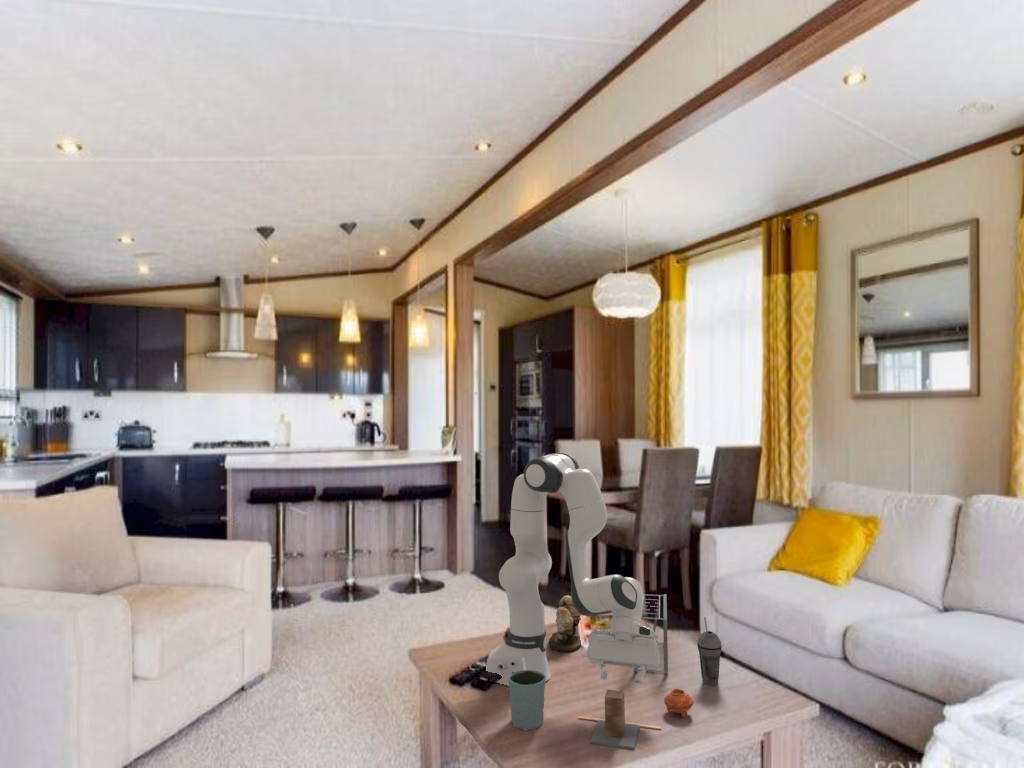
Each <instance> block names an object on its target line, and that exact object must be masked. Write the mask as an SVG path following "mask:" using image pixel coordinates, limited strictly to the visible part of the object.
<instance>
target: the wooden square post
mask: <svg viewBox="0 0 1024 768" xmlns="http://www.w3.org/2000/svg"><path fill="white" fill-rule="evenodd" d="M625 714H626V711H625V691H624V690H623V691H622V690H615V689H606V692H605V695H604V719H605V736H608V737H615V738H623V735H624V732H625V722H626V721H625V720H626V719H625V718H626V717H625Z"/></svg>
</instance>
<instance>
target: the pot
mask: <svg viewBox="0 0 1024 768" xmlns="http://www.w3.org/2000/svg"><path fill="white" fill-rule="evenodd" d="M663 703H664V705H665V706H666V710H667V712H668V713H671V711H672V712H674V713H676V714H677V713H678V714H679V713H680V714H681V716H682V718H683V719H685V718H686V714H687V711H689V710H691V708H692V707H693V706H694V703H695V702H694V699H693V698H692V696H691V695H690V694H689V693H688V692H686V691H685V690H684V689H679V688H674V689H672V690H671V691H670V692H669V693H668V694H666V696H664V699H663Z"/></svg>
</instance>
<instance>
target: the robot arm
mask: <svg viewBox="0 0 1024 768" xmlns="http://www.w3.org/2000/svg"><path fill="white" fill-rule="evenodd" d="M579 466H580V465H579V462H578V461H577V459H576V458H575V457H573V456H572V455H570V454H568V453H563V452H561V453H560V452H559V453H548V454H546V455H543V456H536V457H535V458H533V459H531V460H529V461H528V462H527V463H526V465H525V467H524V468H523V473H522V474H520V475H518V476H516V477H515V480H514V483H513V487H512V492H511V501H510V503H511V505H510V522H509V523H510V525H509V526H510V527H509V529H510V530H509V531H510V535H511V536H512V537H513V541H514V545H515V555H514V556H512V557H510V558H509V559H507V560H506V561H505V562H504V564H503V565H502V566H501V568H500V569H499V573H498V579H499V584H500V585H501V587H502V589H503V590H504V591H505V593H506V597H507V601H508V609H509V611H508V612H509V626H508V627H506V630H505V631H504V634H503V635H502V639H503V640H504V641H503V642H501V643H500V644H498V645H497V646H496V647H495V648H493V650H492V651H491V652H490V653H489V655H488V656H487V660H486V664H487V665H486V664H485V665H486V671H488V672H492V673H497V674H499V675H501V676H502V678H501V679H500V680H499V683H500V684H499V685H502V684H504V685H503V686H506V685H507V686H506V687H509V680H508V677H509V675H510V674H512V673H514V672H517V671H521V670H533V671H538V672H541V673H543V674H544V675H545V677H546V680H545V683H546V682H547V681H548V680H550V679H551V677H552V676H551V675H552V674H551V672H550V668H549V664H548V658H547V645H548V641H547V640H548V639H547V630H546V627H545V626H546V624H545V605H544V603H543V602H542V601H541V597H540V591H539V583H540V582H541V581H543V580H545V579H546V577H547V576H548V575H549V574H550V571H551V569H552V566H553V565H552V564H553V561H552V556H551V555H550V553H549V550H548V544H547V540H546V539H547V538H546V513H547V512H546V508H547V507H546V506H547V505H546V502H547V495H548V494H550V493H553V494H555V493H557V492H559V493H561V494H562V496H563V498H564V499H565V502H566V505H567V509H568V513H569V527H568V529H566V533H565V545H566V554H567V556H566V557H567V561H568V568H569V576H570V587H571V588H570V596H571V600H572V604H573V606H574V607H575V609H576V610H577V611H578V612H580V613H581V615H582V616H585V617H589V616H593V615H596V614H599V613H605V612H611V613H612V617H611V620H610V627H609V628H610V629H609V630H600V629H594V630H593V631H591V632H590V633H589V635H588V647H587V651H586V658H587V660H588V661H589V663H590V664H597V665H598V668H599V670H600V680H605V681H607V680H608V678H607V677H608V671H606V670H604V668H605V666H617V667H625V668H631V669H632V668H633V669H634V668H638V669H639V670H641V671H639V673H638V674H635V678H634V683H635V684H637V685H638V684H639V685H642V678H643V677H644V676H645V674H646V673H647V671H646V670H652V671H658V669H659V668H660V652H659V647H658V643H656V635H655V632H656V631H655V632H654V630H655V629H654V630H653V629H652V628H651V627H648V626H647V627H645V625H642V620H641V619H642V618H641V615H642V616H643V613H644V612H643V609H644V607H643V606H644V603H643V602H644V601H643V594H644V592H643V587H642V584H641V583H640V581H639V580H637V579H635V578H633V577H628V576H625V577H624V576H623V575H622V574H618V573H617V574H610V575H604V576H602V577H597V578H591V579H590V577H589V574H588V566H587V560H586V548H587V545H588V543H589V542H590V541H591V540H592V539H593V538H595V537H596V536H598V534H600V533H601V531H602V530H603V529H604V528H605V527H606V524H607V522H608V517H609V516H608V510H607V506H606V503H605V500H604V495H603V493H602V491H601V488H600V486H599V484H598V481H597V480H596V478H595V475H594V474H593V472H592V471H591V470H589V469H586V468H580V467H579ZM650 628H651V629H650Z"/></svg>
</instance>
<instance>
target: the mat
mask: <svg viewBox="0 0 1024 768" xmlns="http://www.w3.org/2000/svg"><path fill="white" fill-rule="evenodd" d="M640 728H641V727H640V725H635V724H627V723H625V732H624V735H623V738H615V737H608V736H605V720H598V721H596V725H595V728H594V730H593V733H592V736H591V738H590V744H593V745H601V746H608V747H615V748H621V749H627V750H629V749H630V750H635V748H636V745H637V739H638V735H639V733H640V732H639V731H640Z"/></svg>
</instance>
